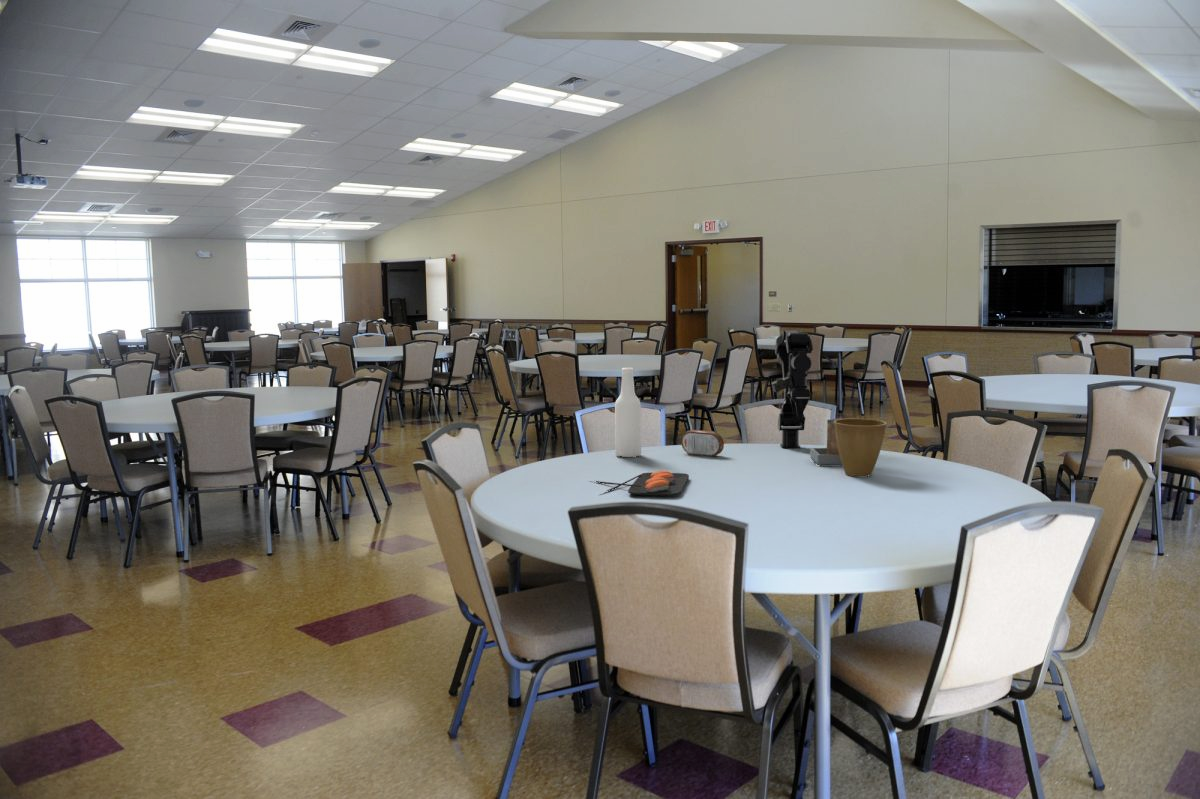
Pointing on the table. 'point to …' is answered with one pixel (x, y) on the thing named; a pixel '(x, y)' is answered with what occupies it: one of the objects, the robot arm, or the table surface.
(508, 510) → the table surface
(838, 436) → the plant pot
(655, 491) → the sushi plate
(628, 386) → the alcohol
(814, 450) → the box
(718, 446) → the tin
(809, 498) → the table surface
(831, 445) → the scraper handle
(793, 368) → the robot arm
